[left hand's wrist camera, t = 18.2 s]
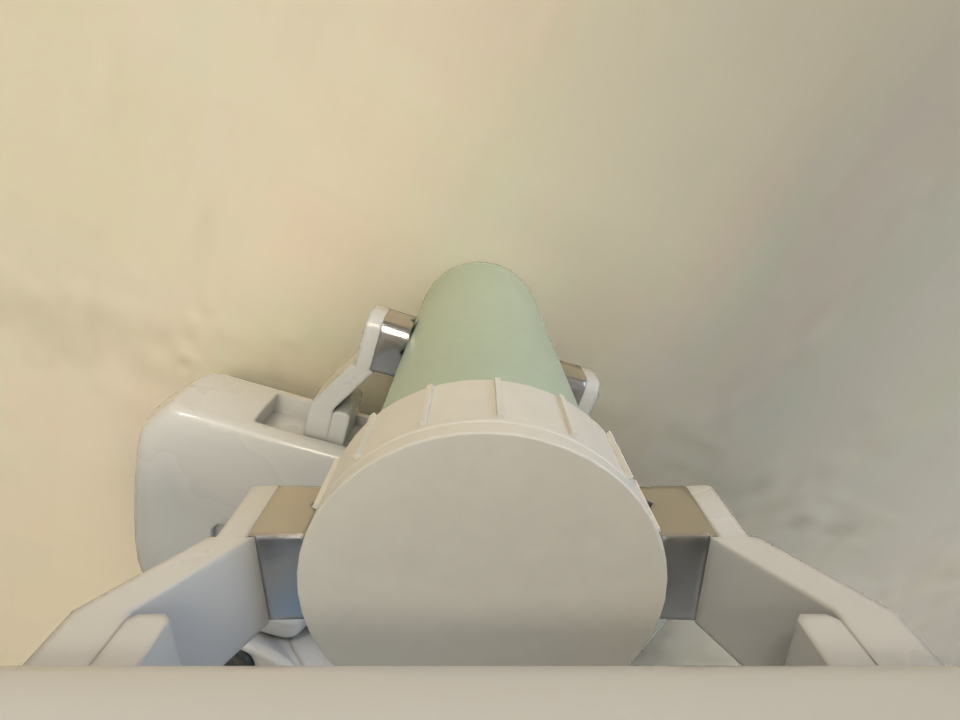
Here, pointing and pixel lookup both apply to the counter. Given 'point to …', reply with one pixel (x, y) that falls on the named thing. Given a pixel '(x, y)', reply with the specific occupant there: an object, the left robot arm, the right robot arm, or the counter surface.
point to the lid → (481, 537)
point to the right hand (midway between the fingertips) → (486, 342)
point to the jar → (479, 335)
